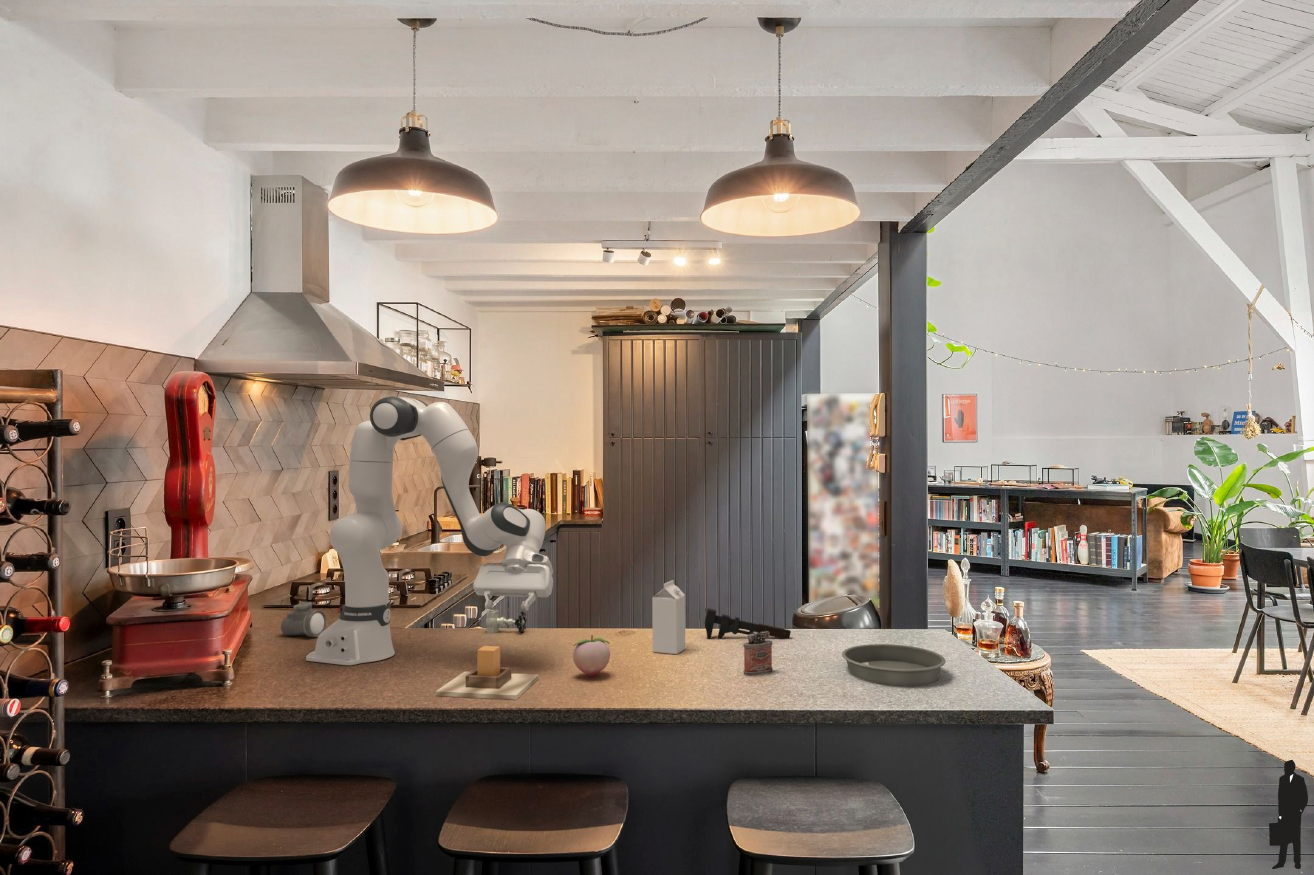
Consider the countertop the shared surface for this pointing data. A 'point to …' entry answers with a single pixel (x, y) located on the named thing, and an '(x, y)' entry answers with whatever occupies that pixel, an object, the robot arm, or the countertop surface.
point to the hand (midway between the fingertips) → (506, 608)
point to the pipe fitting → (304, 621)
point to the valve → (503, 621)
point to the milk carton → (669, 619)
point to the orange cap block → (488, 661)
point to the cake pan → (894, 664)
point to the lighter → (758, 654)
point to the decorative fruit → (591, 655)
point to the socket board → (488, 685)
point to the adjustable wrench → (739, 626)
